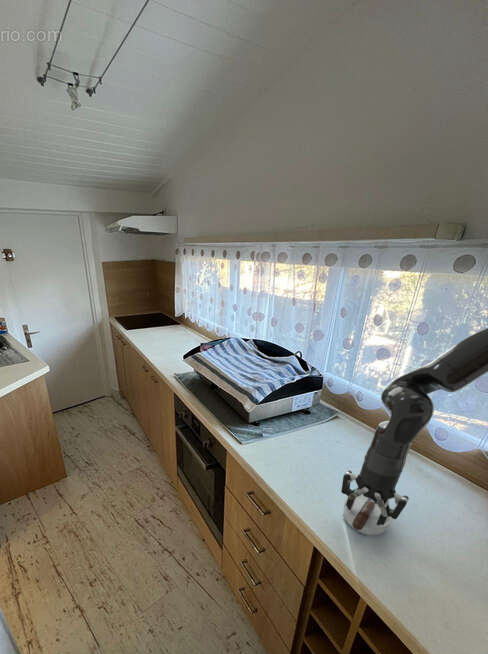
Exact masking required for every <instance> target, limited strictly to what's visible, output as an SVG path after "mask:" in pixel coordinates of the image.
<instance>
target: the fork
mask: <svg viewBox="0 0 488 654" xmlns="http://www.w3.org/2000/svg"><path fill="white" fill-rule="evenodd" d="M368 500H370V501H366V502H365V503H364V505H363V506H362V508H361V509H360V511H359V513H358V514H357V516H356V518H355V519H354V521H353V523H352V525H353V527H354V528H355V529H356V530H355V529H354V528H353V527H352V528H353V529H354V530H355V531H357V530H362V529H363V527H364V525H365V524H366V522H367V520H368V518H369V517H370V515H371V513H372V511H373V510H374V508H375V504H374V503H376V504H377V502H375V501H373V500H372V499H370V498H368Z"/></svg>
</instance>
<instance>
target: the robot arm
mask: <svg viewBox="0 0 488 654" xmlns="http://www.w3.org/2000/svg"><path fill="white" fill-rule="evenodd" d="M486 374H488V327H487V328H484V329H482V330H480V331H477V332H476V333H474V334H471V335H470V336H467V337H466V338H464V339H463V340H461V341H460V342H458V343H456V344H455V345H453V346H452V347H450V348H449V349H447V350H446V351H445V352H443V353H441V354H440V355H439V356H438V357H436V358H435V359H434V360H432V361H431V362H430V363H427V364H425V365H422V366H420V367H417V368H415V369H413V370H410V371H409V372H406V373H405V374H402V375H400V376H399V377H396V378H395V379H393V380H391V381H390V382H389V383H388V384H387V385H386V386H385V387H384V388H383V390H382V392H381V395H380V399H381V403H382V404H383V406H384V407H385V408H386V409H387V410H388V412H389V413H390V419H389V420H385V421H381V422H380V423H379V424H378V425H377V427H376V429H375V431H374V434H373V436H372V440H371V442H370V445H369V447H368V449H367V451H366V454H365V456H364V459H363V463H362V466H361V469H360V472H359V474H354V473H353V471H351V470H347V471H345V473H344V475H343V477H342V483H341V490H340V491H341V493H342V494H343V495H346V496H347V497H348V500H347V503H346V506H347V507H348V510H351V509H352V507H353V505H354V502H355V499H356V497H359V496H360V495H363V496H365V497H367V498H370V499H372V500H373V501H375V502H377V503H378V506H379V508H380V510H381V514H380V517H379V519H378V521H377V525H379V526H380V524H381V525H384V523H385V521H386V519H387V517H392V520H397V519H398V517H400V514H401V513H402V512H403V510H404V509H405V508H406V506H407V504H408V501H409V496H408V495H401V494H400V493H397V492H396V488H397V484H398V482H399V480H400V477H401V475H402V473H403V470H404V468H405V465H406V461H407V457H408V454H409V452H410V450H411V447H412V444H413V442H414V440H415V439H416V438H417V437H418V436H419V435H420V434H421V433H422V431H423V430H424V429H425V428H426V427H427V426H428V424H429V423H430V422H431V420H432V418H433V415H434V411H435V404H434V401H433V400H432V398H431V397H430V395H429V394H432V393H433V392H436V391H444V392H446V393H456V392H458V391H460V390H462V389H464V388H466V387H467V386H469V385H470V384H472V383H473V382H475V381H476V380H477V379H480V378H481V377H483V376H484V375H486ZM353 481H355V483H356V485H357V487H356V488H353V489H351V484H352V482H353ZM391 499H394V503H395V505H396V506H395V507H394V509H392V508H391V506H390V500H391Z"/></svg>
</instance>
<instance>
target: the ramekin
mask: <svg viewBox="0 0 488 654" xmlns="http://www.w3.org/2000/svg"><path fill="white" fill-rule="evenodd" d="M347 500H348V496H347V497H346V498H345V500H344V503H343V517H344V520H345V521H346V522H347V523H346V524H348V525H349V526H350V527H351V528H352V529H354V530H355V531H357V532H359V533H361V534H364V535H367V536H379V535H382V534H383V533H385V531H386V530H387V529H388V528H389V527H390V526H391V523H392V521H393V518H392V517H387V519H386V521H385V523H384V525H381V524H380V526H379V525H377V521H378V519H379V517H380V514H381V510H380V508H379V506H378V503H377V504H376V503H374V504H375V508H374V510H373V511H372V513H371V515H370V517H369V518H368V520H367V522H366V524H365V525H364V527H363V529H362V530H356V529H355V528H354V527H353V525H352V523H353V521H354V519H355V518H356V516H357V514H358V513H359V511H360V509H361V508H362V506H363V505H364V503H365V502H366V501H370V500H368V498H367V497H365V496H363V494H362V495H360V496H359V497H356V499H355V502H354V505H353V507H352V509H351V510H348V507H347V506H346V503H347Z"/></svg>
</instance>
